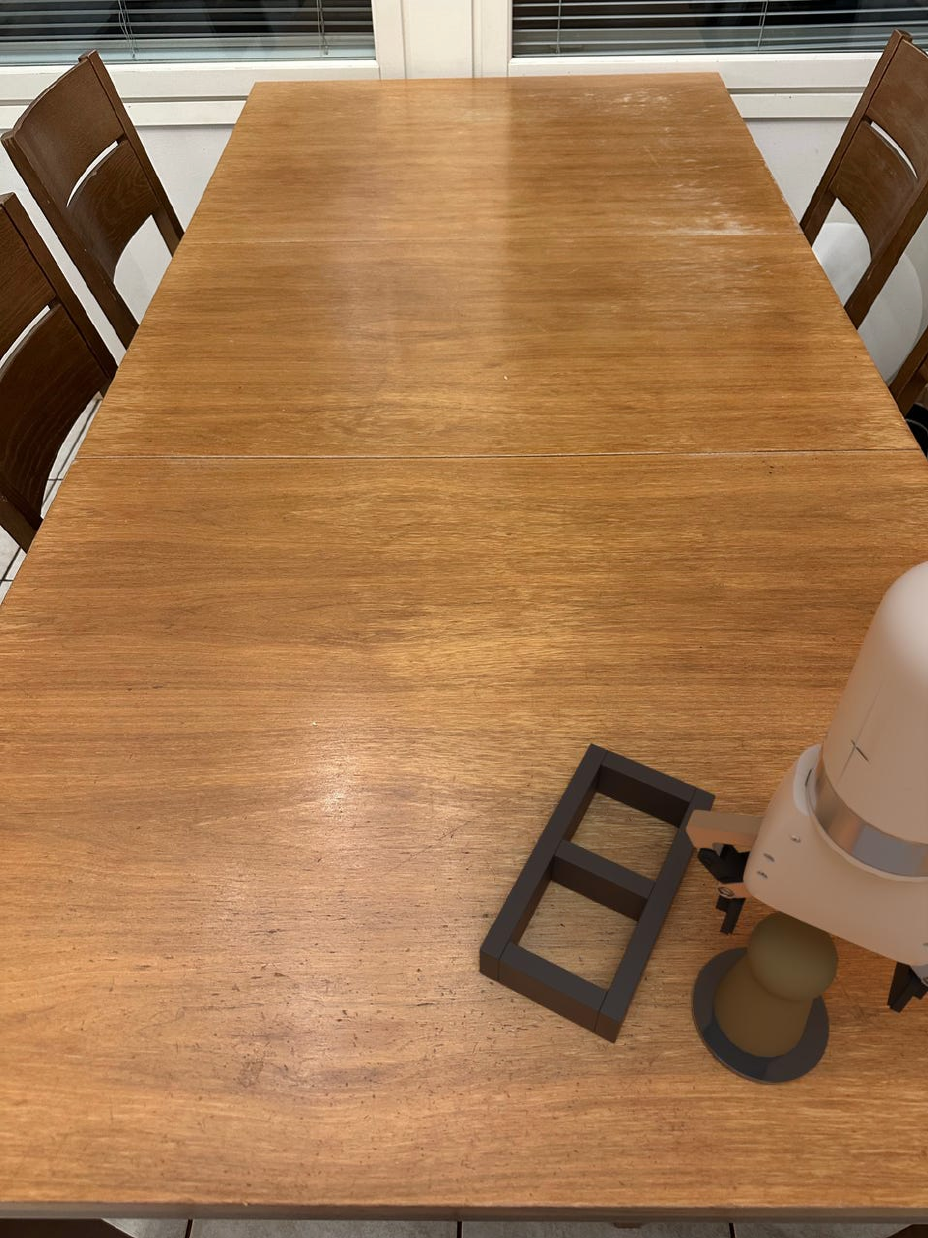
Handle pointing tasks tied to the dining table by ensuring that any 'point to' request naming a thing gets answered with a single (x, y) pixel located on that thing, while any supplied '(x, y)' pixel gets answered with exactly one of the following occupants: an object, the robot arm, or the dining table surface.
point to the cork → (775, 985)
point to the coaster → (745, 1063)
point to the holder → (594, 891)
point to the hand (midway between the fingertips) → (812, 949)
